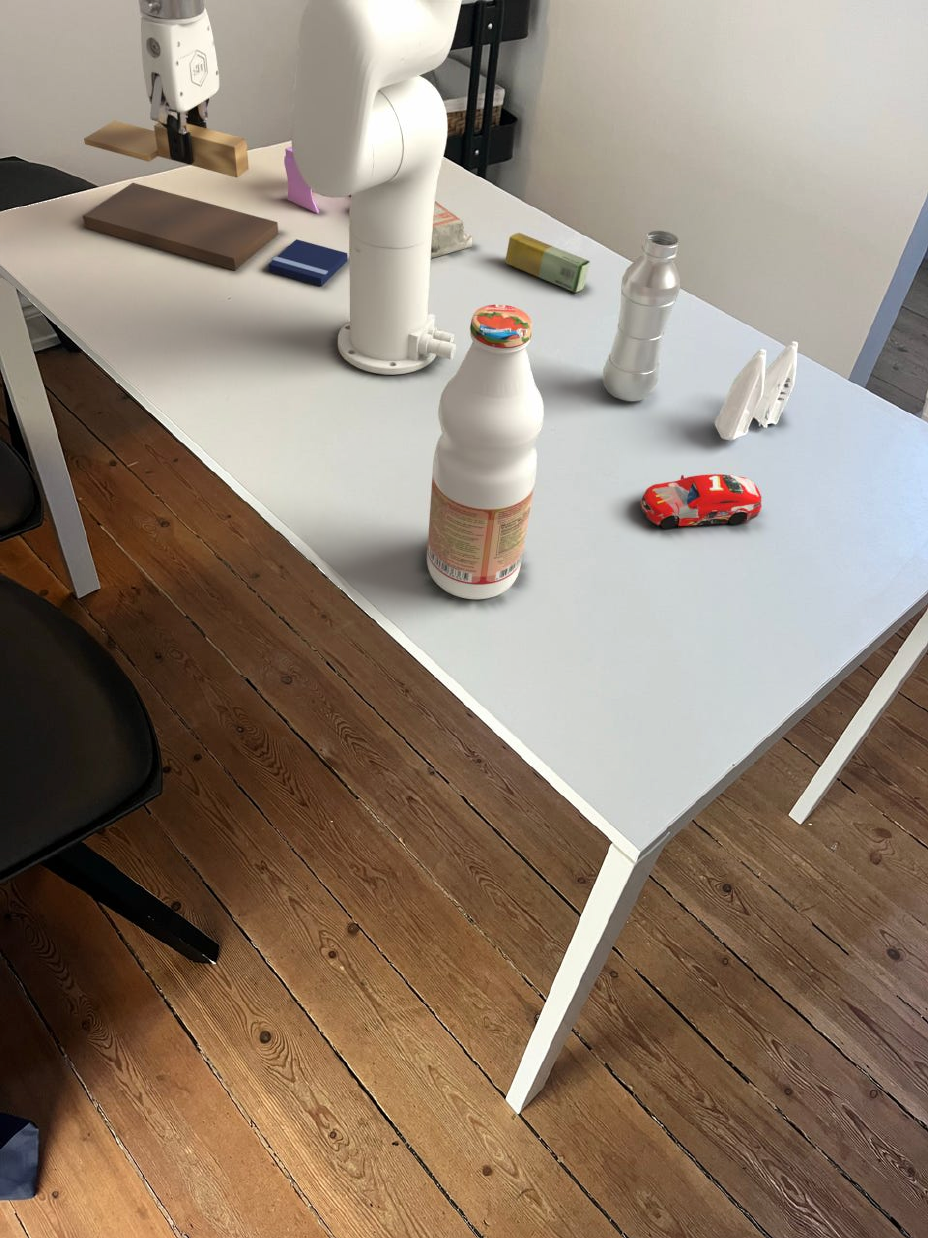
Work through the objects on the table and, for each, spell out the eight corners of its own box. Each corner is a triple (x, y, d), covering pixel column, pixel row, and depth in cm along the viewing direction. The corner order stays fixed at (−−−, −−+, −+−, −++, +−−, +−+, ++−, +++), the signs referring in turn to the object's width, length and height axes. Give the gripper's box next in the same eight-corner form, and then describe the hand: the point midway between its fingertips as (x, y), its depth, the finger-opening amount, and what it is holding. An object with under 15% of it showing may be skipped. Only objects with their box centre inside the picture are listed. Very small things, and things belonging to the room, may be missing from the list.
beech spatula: (256, 163, 132) (254, 132, 129) (229, 183, 127) (226, 152, 124) (115, 125, 136) (110, 95, 133) (84, 144, 132) (78, 112, 129)
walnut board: (278, 233, 141) (277, 221, 140) (235, 270, 133) (234, 258, 132) (134, 194, 146) (132, 182, 145) (85, 227, 138) (82, 215, 137)
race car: (645, 532, 104) (653, 503, 101) (632, 498, 108) (640, 469, 105) (762, 526, 106) (773, 498, 103) (745, 493, 110) (756, 465, 107)
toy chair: (279, 198, 149) (273, 92, 137) (319, 180, 154) (316, 77, 142) (320, 216, 146) (317, 110, 134) (359, 198, 151) (359, 94, 139)
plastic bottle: (656, 410, 119) (697, 255, 104) (600, 405, 119) (634, 249, 104) (650, 379, 124) (689, 226, 109) (597, 375, 123) (629, 221, 109)
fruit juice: (427, 601, 95) (445, 350, 74) (424, 535, 101) (440, 285, 81) (523, 603, 96) (567, 354, 75) (515, 536, 102) (553, 290, 81)
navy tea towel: (347, 260, 138) (347, 252, 137) (321, 286, 132) (321, 277, 131) (296, 246, 139) (296, 238, 138) (268, 271, 134) (268, 262, 133)
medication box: (585, 288, 138) (592, 260, 135) (576, 294, 136) (583, 266, 133) (512, 257, 141) (518, 230, 139) (503, 263, 140) (508, 235, 137)
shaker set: (727, 453, 115) (755, 373, 106) (700, 435, 117) (725, 354, 108) (789, 418, 120) (820, 339, 112) (762, 401, 122) (791, 322, 114)
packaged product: (477, 215, 139) (419, 231, 135) (474, 247, 143) (418, 264, 138) (405, 165, 148) (349, 179, 144) (404, 197, 152) (349, 211, 147)
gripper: (159, 26, 111) (180, 186, 125) (234, -12, 122) (246, 140, 135) (102, 12, 113) (130, 172, 126) (181, -24, 123) (198, 128, 137)
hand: (190, 154), depth 131 cm, fingers closed on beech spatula, 3 cm apart
